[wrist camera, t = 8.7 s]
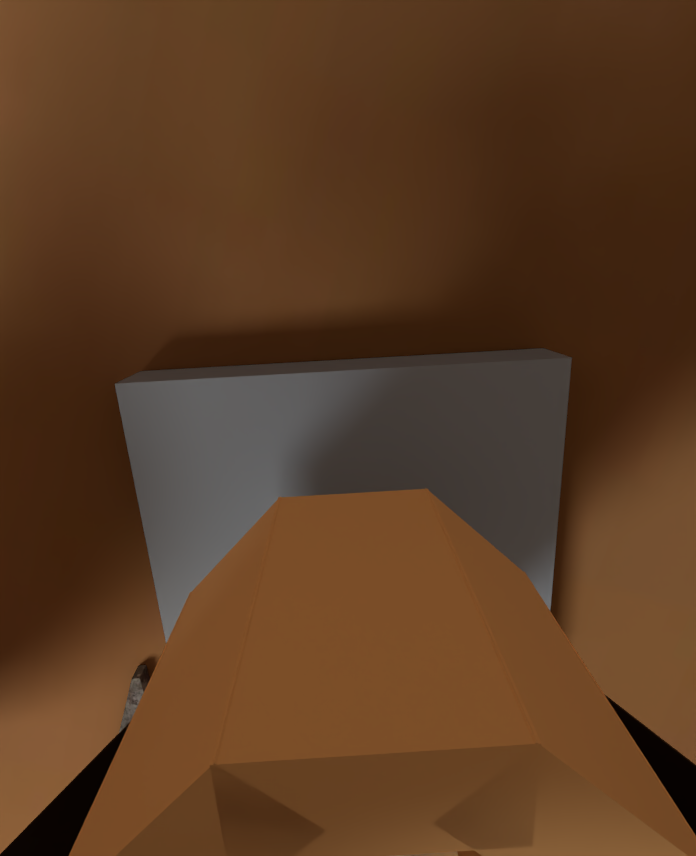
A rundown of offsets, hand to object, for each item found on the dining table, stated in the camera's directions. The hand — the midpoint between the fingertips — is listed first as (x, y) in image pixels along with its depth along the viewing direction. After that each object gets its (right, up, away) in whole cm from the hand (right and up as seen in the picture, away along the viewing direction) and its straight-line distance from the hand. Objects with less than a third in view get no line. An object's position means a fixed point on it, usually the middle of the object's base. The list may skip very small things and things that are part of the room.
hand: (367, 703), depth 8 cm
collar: (0, +1, +1) cm, 2 cm away
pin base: (0, +2, +5) cm, 6 cm away
